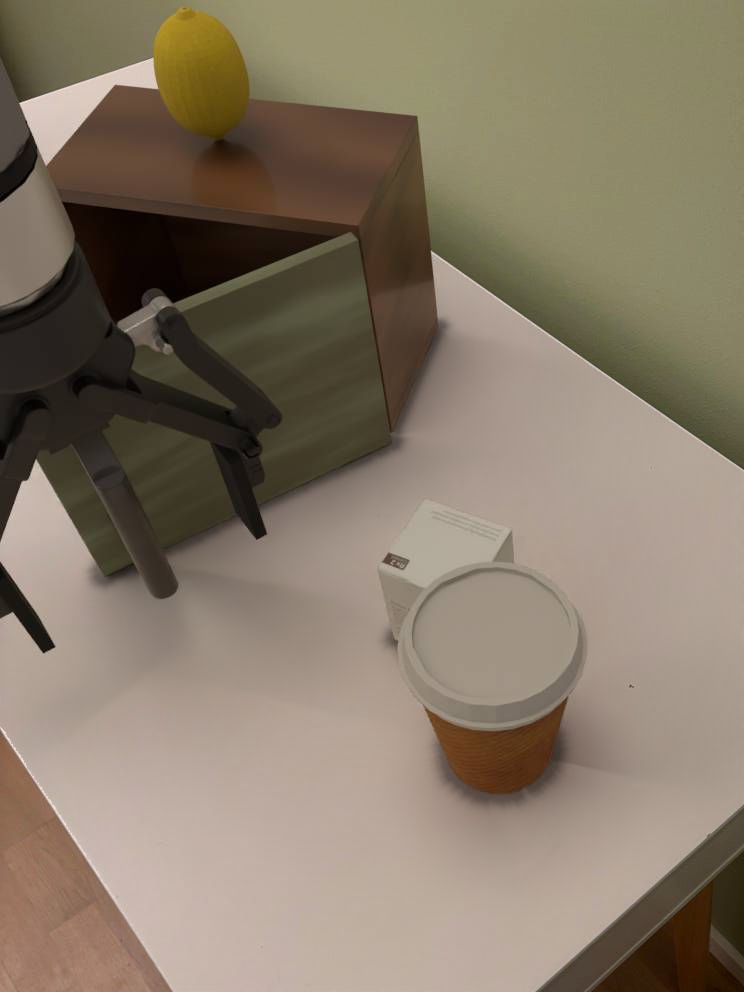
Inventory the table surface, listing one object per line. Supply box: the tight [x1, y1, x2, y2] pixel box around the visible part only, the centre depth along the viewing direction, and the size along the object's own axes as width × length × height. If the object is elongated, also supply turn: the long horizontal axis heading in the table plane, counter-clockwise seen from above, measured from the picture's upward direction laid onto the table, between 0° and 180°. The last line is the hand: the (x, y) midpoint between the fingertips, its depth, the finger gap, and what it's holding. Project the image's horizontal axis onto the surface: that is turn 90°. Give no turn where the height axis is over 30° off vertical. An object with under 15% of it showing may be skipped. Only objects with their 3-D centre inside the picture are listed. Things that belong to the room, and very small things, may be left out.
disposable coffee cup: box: [396, 562, 589, 795], centre depth 56 cm, size 10×10×12 cm
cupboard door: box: [36, 232, 392, 600], centre depth 63 cm, size 8×22×17 cm, turn 122°
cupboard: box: [45, 84, 439, 433], centre depth 73 cm, size 12×22×17 cm, turn 75°
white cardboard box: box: [376, 498, 515, 642], centre depth 63 cm, size 6×6×7 cm
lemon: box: [153, 6, 250, 141], centre depth 64 cm, size 6×6×8 cm
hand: (149, 577), depth 61 cm, fingers open, 13 cm apart
